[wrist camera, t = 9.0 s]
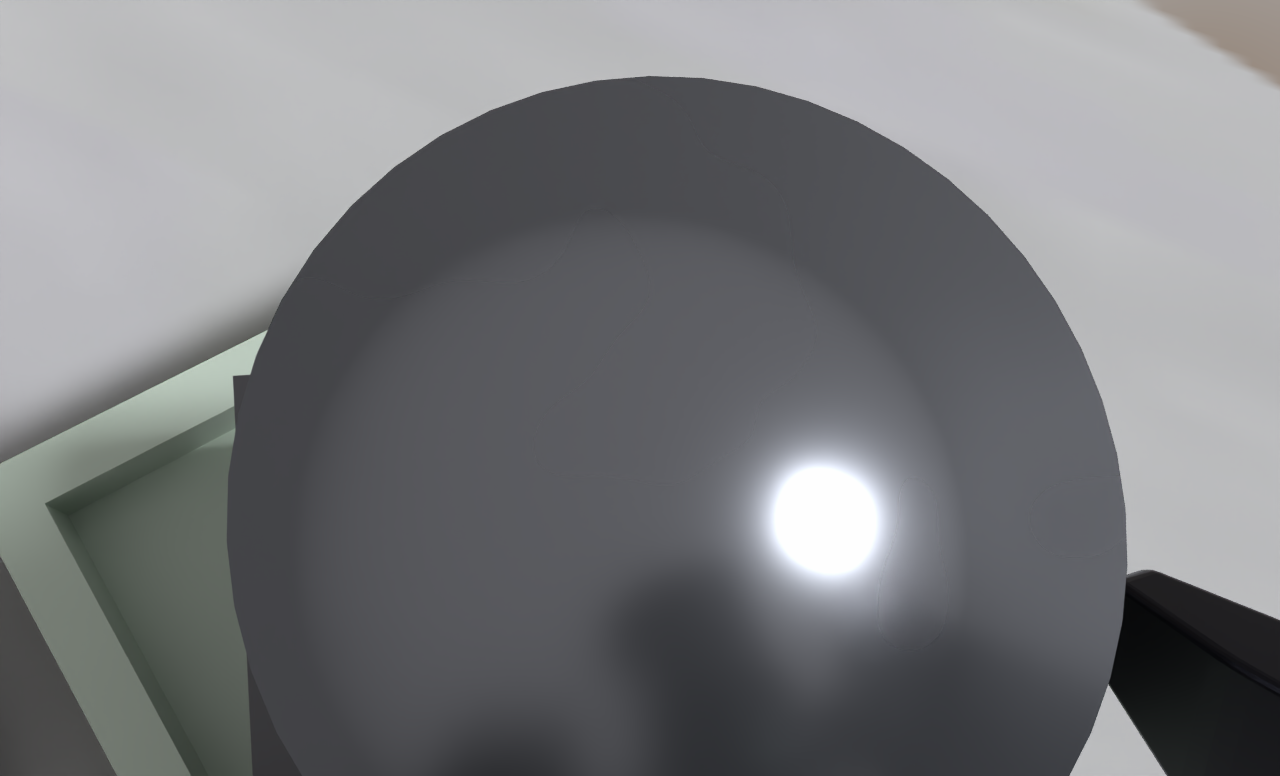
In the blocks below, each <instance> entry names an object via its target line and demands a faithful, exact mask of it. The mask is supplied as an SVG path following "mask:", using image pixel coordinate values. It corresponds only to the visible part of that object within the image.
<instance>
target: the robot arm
mask: <svg viewBox="0 0 1280 776" xmlns="http://www.w3.org/2000/svg"><path fill="white" fill-rule="evenodd" d="M1108 684H1109V686H1110V688H1111V689H1112V691H1113V692H1114V694H1115V695H1116V697H1117V699H1118V700H1119V702H1120V703H1121V705H1122V706H1123V708H1124V709H1125V711H1126V713H1127V714H1128V716H1129V717H1130V719H1131V720H1132V722H1133V724H1134V725H1135V727H1136V728H1137V730H1138V731H1139V733H1140V735H1141V736H1142V738H1143V739H1144V741H1145V742H1146V744H1147V745H1148V747H1149V749H1150V750H1151V752H1152V753H1153V755H1154V756H1155V758H1156V760H1157V761H1158V763H1159V764H1160V766H1161V767H1162V769H1163V770H1164V772H1165V774H1166V775H1167V776H1280V620H1278V619H1276V618H1273V617H1271V616H1268V615H1266V614H1263V613H1261V612H1258V611H1256V610H1253V609H1251V608H1248V607H1246V606H1243V605H1241V604H1238V603H1236V602H1233V601H1231V600H1228V599H1226V598H1223V597H1221V596H1218V595H1216V594H1213V593H1211V592H1208V591H1206V590H1203V589H1201V588H1198V587H1196V586H1193V585H1191V584H1188V583H1185V582H1183V581H1180V580H1178V579H1175V578H1173V577H1170V576H1168V575H1165V574H1163V573H1160V572H1157V571H1154V570H1141V571H1137V572H1134V573H1131V574H1128V575H1126V585H1125V597H1124V608H1123V620H1122V626H1121V630H1120V635H1119V640H1118V644H1117V649H1116V654H1115V658H1114V663H1113V668H1112V672H1111V677H1110V680H1109V683H1108Z"/></svg>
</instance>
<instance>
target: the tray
mask: <svg viewBox="0 0 1280 776" xmlns="http://www.w3.org/2000/svg"><path fill="white" fill-rule="evenodd" d="M267 331H268V330H266V331H264V332H262V333H260V334H258V335H256V336H254V337H252V338H250V339H248V340H246V341H244V342H242V343H240V344H238V345H236V346H234V347H232V348H230V349H228V350H226V351H224V352H222V353H220V354H218V355H216V356H214V357H212V358H210V359H208V360H206V361H204V362H202V363H200V364H198V365H196V366H194V367H192V368H190V369H188V370H186V371H184V372H182V373H180V374H178V375H176V376H174V377H172V378H170V379H168V380H166V381H164V382H162V383H160V384H158V385H156V386H154V387H152V388H150V389H148V390H146V391H144V392H142V393H140V394H138V395H136V396H134V397H132V398H130V399H128V400H126V401H124V402H122V403H120V404H118V405H116V406H114V407H112V408H110V409H108V410H106V411H104V412H102V413H100V414H98V415H96V416H94V417H92V418H90V419H88V420H86V421H84V422H82V423H80V424H78V425H76V426H74V427H72V428H70V429H68V430H66V431H64V432H62V433H60V434H58V435H56V436H54V437H52V438H50V439H48V440H46V441H44V442H42V443H40V444H38V445H36V446H34V447H32V448H30V449H28V450H26V451H24V452H22V453H20V454H18V455H16V456H14V457H12V458H10V459H8V460H6V461H4V462H2V463H0V556H1V558H2V560H3V562H4V564H5V566H6V568H7V570H8V572H9V573H10V575H11V577H12V579H13V581H14V583H15V585H16V587H17V589H18V590H19V592H20V594H21V596H22V598H23V600H24V602H25V604H26V605H27V607H28V609H29V611H30V613H31V615H32V617H33V619H34V621H35V622H36V624H37V626H38V628H39V630H40V632H41V634H42V636H43V638H44V639H45V641H46V643H47V645H48V647H49V649H50V651H51V653H52V654H53V656H54V658H55V660H56V662H57V664H58V666H59V668H60V670H61V671H62V673H63V675H64V677H65V679H66V681H67V683H68V685H69V687H70V688H71V690H72V692H73V694H74V696H75V698H76V700H77V702H78V703H79V705H80V707H81V709H82V711H83V713H84V715H85V717H86V719H87V720H88V722H89V724H90V726H91V728H92V730H93V732H94V734H95V736H96V737H97V739H98V741H99V743H100V745H101V747H102V749H103V751H104V752H105V754H106V756H107V758H108V760H109V762H110V764H111V766H112V768H113V769H114V771H115V773H116V775H117V776H253V773H252V753H251V732H250V712H249V692H248V672H247V654H246V650H245V646H244V642H243V638H242V634H241V630H240V627H239V623H238V619H237V615H236V611H235V607H234V600H233V592H232V583H231V574H230V566H229V557H228V549H227V501H228V474H229V468H230V461H231V455H232V449H233V443H234V437H235V410H234V390H233V376H237V375H250V374H251V370H252V367H253V364H254V361H255V357H256V355H257V352H258V350H259V348H260V346H261V344H262V342H263V339H264V337H265V335H266V333H267Z"/></svg>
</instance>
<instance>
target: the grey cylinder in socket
mask: <svg viewBox="0 0 1280 776" xmlns="http://www.w3.org/2000/svg"><path fill="white" fill-rule="evenodd" d="M233 390H234V410H235V437H234V443H233V449H232V455H231V461H230V468H229V474H228V501H227V549H228V557H229V566H230V574H231V583H232V592H233V600H234V607H235V611H236V615H237V619H238V623H239V627H240V630H241V634H242V638H243V642H244V646H245V650H246V654H247V672H248V692H249V712H250V732H251V753H252V773H253V776H1069V775H1070V773H1071V771H1072V769H1073V767H1074V765H1075V763H1076V761H1077V759H1078V757H1079V755H1080V753H1081V751H1082V749H1083V747H1084V746H1085V744H1086V742H1087V740H1088V738H1089V736H1090V734H1091V731H1092V728H1093V726H1094V723H1095V720H1096V717H1097V714H1098V711H1099V709H1100V706H1101V703H1102V700H1103V697H1104V694H1105V692H1106V689H1107V686H1108V683H1109V680H1110V677H1111V672H1112V668H1113V663H1114V658H1115V654H1116V649H1117V644H1118V640H1119V635H1120V630H1121V626H1122V620H1123V608H1124V597H1125V585H1126V574H1127V543H1126V513H1125V503H1124V497H1123V490H1122V484H1121V477H1120V471H1119V464H1118V458H1117V452H1116V449H1115V445H1114V441H1113V438H1112V434H1111V431H1110V427H1109V423H1108V420H1107V416H1106V412H1105V409H1104V405H1103V402H1102V399H1101V396H1100V394H1099V391H1098V389H1097V386H1096V384H1095V381H1094V379H1093V376H1092V374H1091V371H1090V369H1089V366H1088V364H1087V362H1086V359H1085V357H1084V354H1083V352H1082V349H1081V347H1080V345H1079V344H1078V342H1077V340H1076V338H1075V336H1074V334H1073V333H1072V331H1071V329H1070V327H1069V325H1068V323H1067V321H1066V320H1065V318H1064V316H1063V314H1062V312H1061V310H1060V309H1059V307H1058V305H1057V303H1056V301H1055V300H1054V298H1053V297H1052V295H1051V294H1050V293H1049V291H1048V290H1047V288H1046V287H1045V285H1044V284H1043V283H1042V281H1041V280H1040V278H1039V277H1038V275H1037V274H1036V273H1035V271H1034V270H1033V268H1032V267H1031V265H1030V264H1029V263H1028V261H1027V260H1026V258H1025V257H1024V256H1023V254H1022V253H1021V252H1020V251H1019V250H1018V249H1017V248H1016V246H1015V245H1014V244H1013V243H1012V242H1011V241H1010V240H1009V239H1008V237H1007V236H1006V235H1005V234H1004V233H1003V232H1002V231H1001V229H1000V228H999V227H998V226H997V225H996V224H995V223H994V222H993V220H992V219H991V218H990V217H989V216H988V215H987V214H986V213H985V212H984V211H983V210H982V209H980V208H979V207H978V206H977V205H976V204H975V203H974V202H973V201H972V200H971V199H969V198H968V197H967V196H966V195H965V194H964V193H963V192H962V191H961V190H959V189H958V188H957V187H956V186H955V185H954V184H953V183H952V182H951V181H949V180H948V179H947V178H946V177H944V176H943V175H941V174H940V173H939V172H937V171H936V170H935V169H933V168H932V167H930V166H929V165H928V164H926V163H925V162H923V161H922V160H921V159H919V158H918V157H916V156H915V155H914V154H912V153H911V152H909V151H908V150H907V149H905V148H904V147H902V146H900V145H898V144H897V143H895V142H893V141H891V140H889V139H888V138H886V137H884V136H882V135H880V134H879V133H877V132H875V131H873V130H871V129H870V128H868V127H866V126H864V125H862V124H861V123H859V122H857V121H854V120H852V119H850V118H847V117H845V116H842V115H840V114H838V113H835V112H833V111H830V110H828V109H826V108H823V107H821V106H818V105H816V104H813V103H811V102H809V101H805V100H802V99H798V98H795V97H791V96H788V95H784V94H781V93H777V92H774V91H770V90H767V89H763V88H760V87H756V86H749V85H743V84H737V83H731V82H724V81H718V80H712V79H705V78H685V77H658V76H646V77H635V78H623V79H611V80H600V81H593V82H588V83H583V84H579V85H574V86H569V87H565V88H560V89H555V90H551V91H546V92H542V93H539V94H536V95H533V96H530V97H527V98H525V99H522V100H519V101H516V102H513V103H510V104H508V105H505V106H502V107H499V108H496V109H493V110H491V111H489V112H487V113H485V114H483V115H481V116H479V117H477V118H475V119H473V120H471V121H469V122H467V123H465V124H463V125H461V126H459V127H457V128H455V129H453V130H451V131H449V132H447V133H445V134H443V135H441V136H439V137H438V138H437V139H435V140H434V141H432V142H431V143H429V144H428V145H426V146H425V147H423V148H422V149H420V150H419V151H417V152H416V153H415V154H413V155H412V156H410V157H409V158H407V159H406V160H404V161H403V162H401V163H400V164H398V165H397V166H395V167H394V168H393V169H392V170H391V171H390V172H388V173H387V174H386V175H385V176H384V177H383V178H382V179H381V180H380V181H378V182H377V183H376V184H375V185H374V186H373V187H372V188H371V189H370V190H368V191H367V192H366V193H365V194H364V195H363V196H362V197H361V198H360V199H358V200H357V201H356V202H355V203H354V204H353V205H352V206H351V207H350V208H349V209H348V210H347V212H346V213H345V214H344V215H343V216H342V217H341V219H340V220H339V221H338V222H337V223H336V225H335V226H334V227H333V228H332V229H331V230H330V232H329V233H328V234H327V235H326V236H325V237H324V239H323V240H322V241H321V242H320V243H319V244H318V246H317V247H316V248H315V249H314V250H313V252H312V254H311V255H310V257H309V258H308V260H307V261H306V263H305V265H304V266H303V268H302V269H301V271H300V272H299V274H298V275H297V277H296V279H295V280H294V282H293V283H292V285H291V286H290V288H289V289H288V291H287V293H286V294H285V296H284V297H283V299H282V300H281V303H280V305H279V307H278V309H277V311H276V313H275V316H274V318H273V320H272V322H271V324H270V326H269V329H268V331H267V333H266V335H265V337H264V339H263V342H262V344H261V346H260V348H259V350H258V352H257V355H256V357H255V361H254V364H253V367H252V370H251V374H250V375H237V376H233Z"/></svg>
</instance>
